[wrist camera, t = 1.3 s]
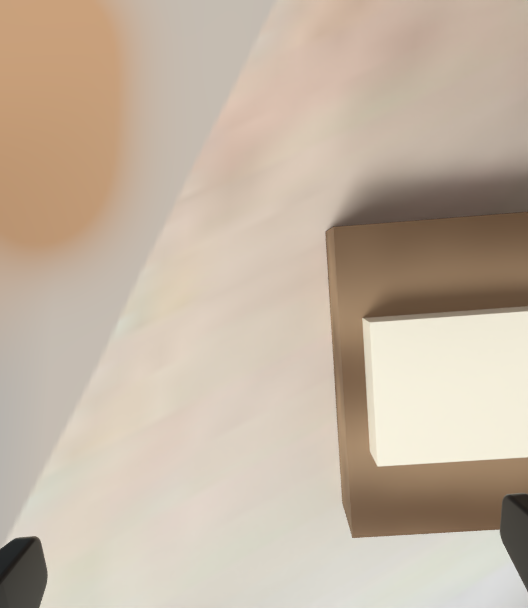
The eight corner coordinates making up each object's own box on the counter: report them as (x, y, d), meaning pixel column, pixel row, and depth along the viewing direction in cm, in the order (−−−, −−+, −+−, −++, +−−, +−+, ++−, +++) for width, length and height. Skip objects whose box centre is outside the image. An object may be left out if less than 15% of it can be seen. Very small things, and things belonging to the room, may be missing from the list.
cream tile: (552, 439, 20) (574, 454, 18) (369, 451, 20) (377, 466, 18) (549, 304, 19) (572, 308, 18) (362, 318, 19) (369, 322, 18)
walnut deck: (576, 488, 23) (622, 522, 20) (342, 502, 23) (352, 537, 20) (572, 212, 22) (620, 204, 19) (325, 231, 22) (333, 226, 19)
